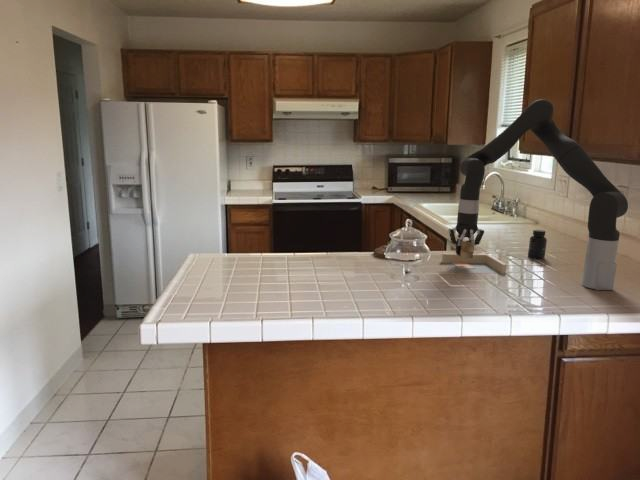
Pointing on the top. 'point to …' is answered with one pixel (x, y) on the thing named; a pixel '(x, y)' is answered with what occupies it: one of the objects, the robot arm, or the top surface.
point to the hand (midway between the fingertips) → (464, 254)
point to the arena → (474, 263)
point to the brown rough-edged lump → (381, 251)
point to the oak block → (466, 249)
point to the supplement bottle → (537, 245)
